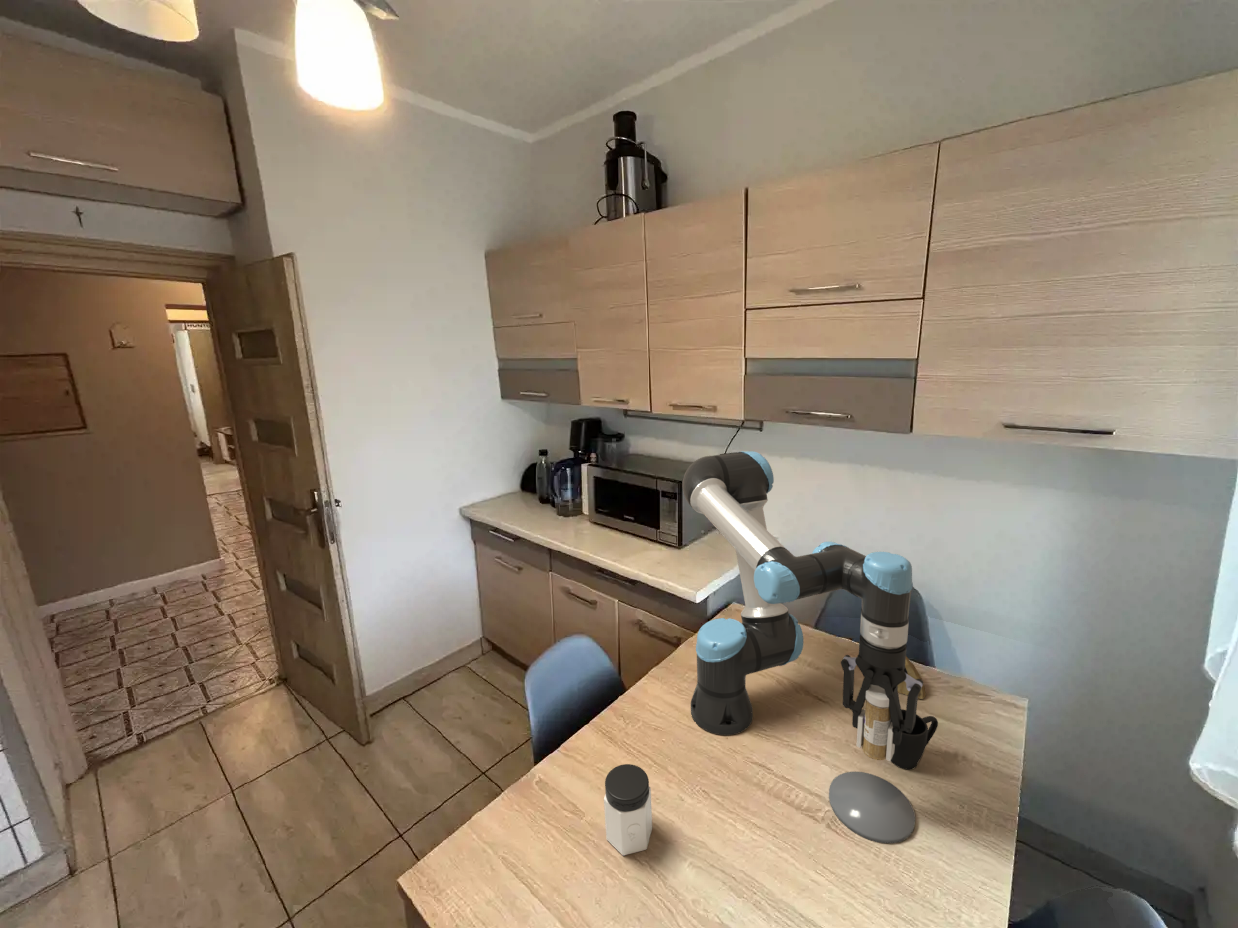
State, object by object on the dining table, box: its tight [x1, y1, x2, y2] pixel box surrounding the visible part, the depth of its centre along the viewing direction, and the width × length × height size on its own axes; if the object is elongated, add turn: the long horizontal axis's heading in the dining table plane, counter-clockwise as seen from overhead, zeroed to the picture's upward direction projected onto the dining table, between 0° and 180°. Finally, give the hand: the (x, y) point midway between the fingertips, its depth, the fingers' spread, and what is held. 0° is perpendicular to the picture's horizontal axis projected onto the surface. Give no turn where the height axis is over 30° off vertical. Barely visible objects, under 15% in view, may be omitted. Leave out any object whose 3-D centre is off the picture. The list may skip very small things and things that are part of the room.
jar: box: [603, 763, 653, 856], centre depth 94 cm, size 9×8×12 cm
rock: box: [898, 655, 927, 700], centre depth 130 cm, size 11×9×10 cm
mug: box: [890, 708, 939, 771], centre depth 109 cm, size 8×12×10 cm
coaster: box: [828, 770, 916, 844], centre depth 99 cm, size 15×15×1 cm
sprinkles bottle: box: [861, 684, 891, 761], centre depth 94 cm, size 5×5×13 cm
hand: (875, 748), depth 96 cm, fingers closed on sprinkles bottle, 4 cm apart
